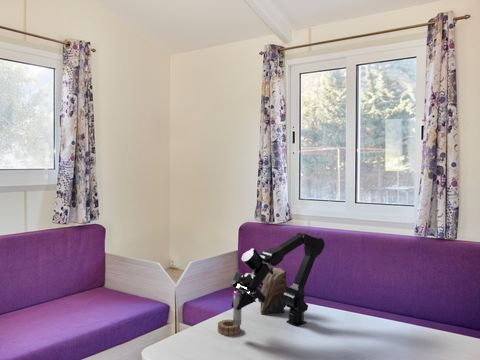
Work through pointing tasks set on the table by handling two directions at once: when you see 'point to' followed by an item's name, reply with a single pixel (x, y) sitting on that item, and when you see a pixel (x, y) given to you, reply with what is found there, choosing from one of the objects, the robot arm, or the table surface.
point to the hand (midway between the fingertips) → (234, 308)
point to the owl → (274, 292)
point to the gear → (228, 327)
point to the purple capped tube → (236, 313)
